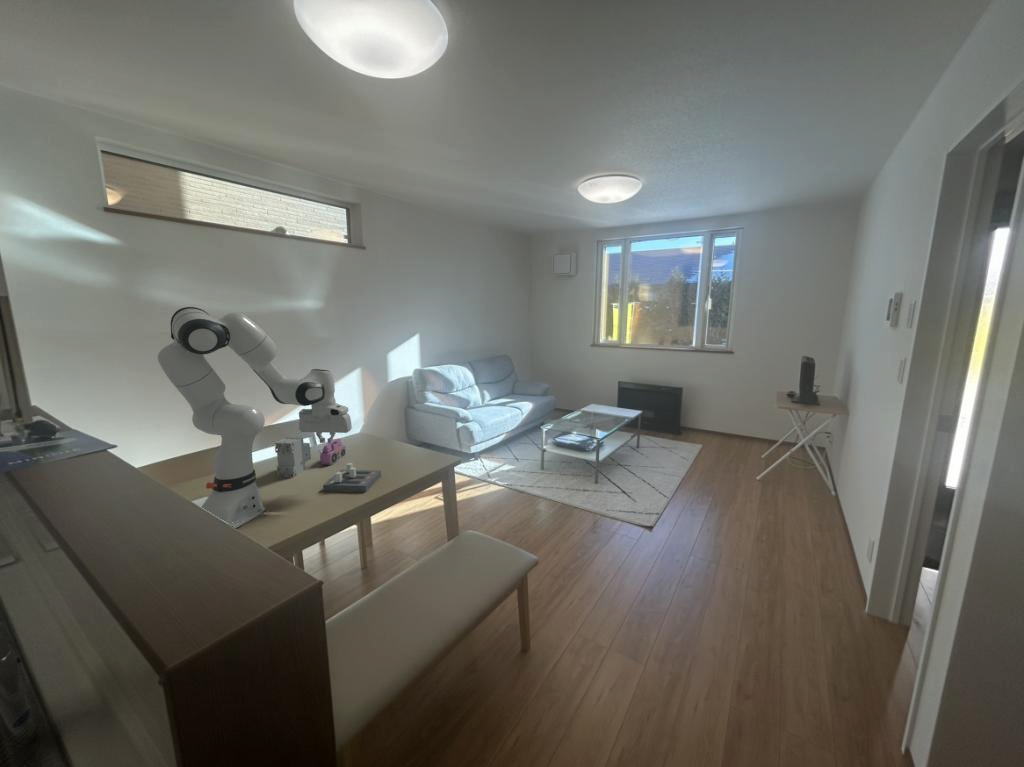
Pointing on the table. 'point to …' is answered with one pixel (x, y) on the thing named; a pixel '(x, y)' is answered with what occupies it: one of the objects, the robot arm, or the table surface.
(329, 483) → the panel
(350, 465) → the breaker far
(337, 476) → the breaker near
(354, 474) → the breaker mid
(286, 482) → the table surface
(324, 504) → the table surface
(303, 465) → the circuit breaker
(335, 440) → the pink toy car
